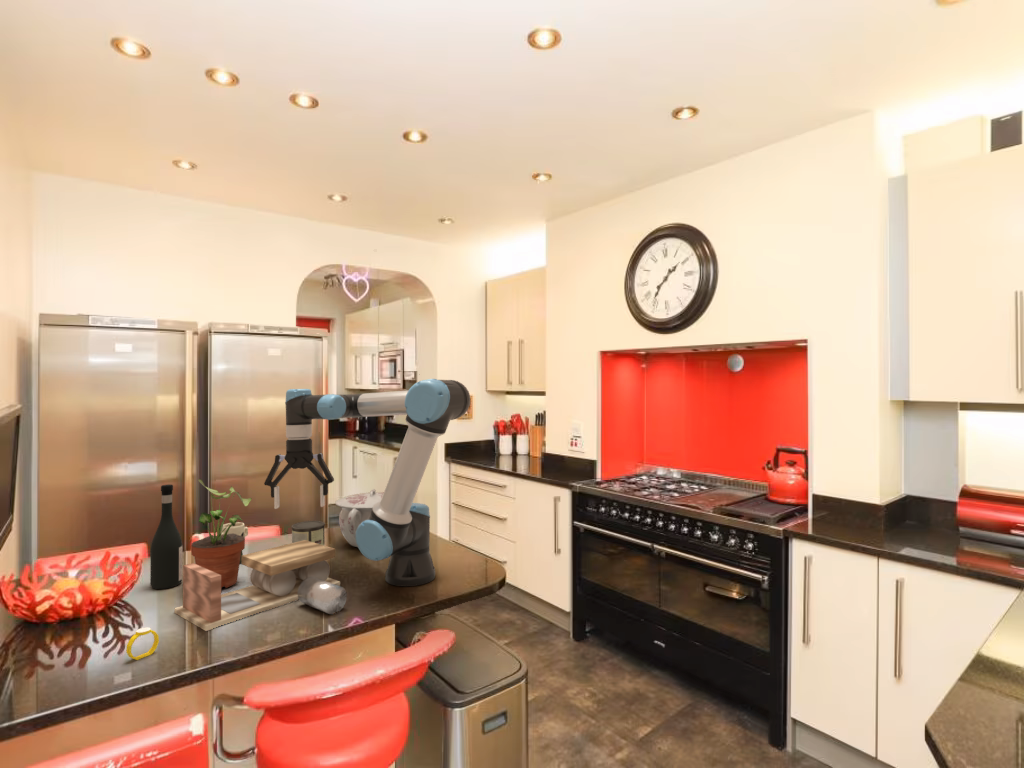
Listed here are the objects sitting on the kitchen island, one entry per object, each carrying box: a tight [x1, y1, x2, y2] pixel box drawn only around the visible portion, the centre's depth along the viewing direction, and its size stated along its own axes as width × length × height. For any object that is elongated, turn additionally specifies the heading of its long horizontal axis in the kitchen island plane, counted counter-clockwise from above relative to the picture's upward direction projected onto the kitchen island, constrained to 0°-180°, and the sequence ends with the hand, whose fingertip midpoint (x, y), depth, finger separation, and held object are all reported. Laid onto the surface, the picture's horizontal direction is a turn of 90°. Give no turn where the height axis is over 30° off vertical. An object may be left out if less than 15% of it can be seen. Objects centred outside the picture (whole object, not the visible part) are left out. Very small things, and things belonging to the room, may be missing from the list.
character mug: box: [221, 521, 249, 563], centre depth 182 cm, size 11×7×13 cm, turn 151°
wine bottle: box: [149, 484, 183, 590], centre depth 162 cm, size 8×8×30 cm
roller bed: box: [174, 560, 341, 632], centre depth 151 cm, size 18×38×12 cm, turn 143°
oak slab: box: [241, 540, 336, 576], centre depth 158 cm, size 16×20×2 cm
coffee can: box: [291, 520, 326, 546], centre depth 178 cm, size 10×10×14 cm
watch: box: [125, 627, 160, 661], centre depth 119 cm, size 6×3×6 cm, turn 151°
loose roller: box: [297, 577, 348, 615], centre depth 145 cm, size 12×7×7 cm, turn 53°
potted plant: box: [190, 478, 252, 589], centre depth 162 cm, size 16×15×35 cm
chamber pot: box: [334, 488, 384, 548], centre depth 205 cm, size 28×28×21 cm
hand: (299, 507), depth 168 cm, fingers open, 13 cm apart
